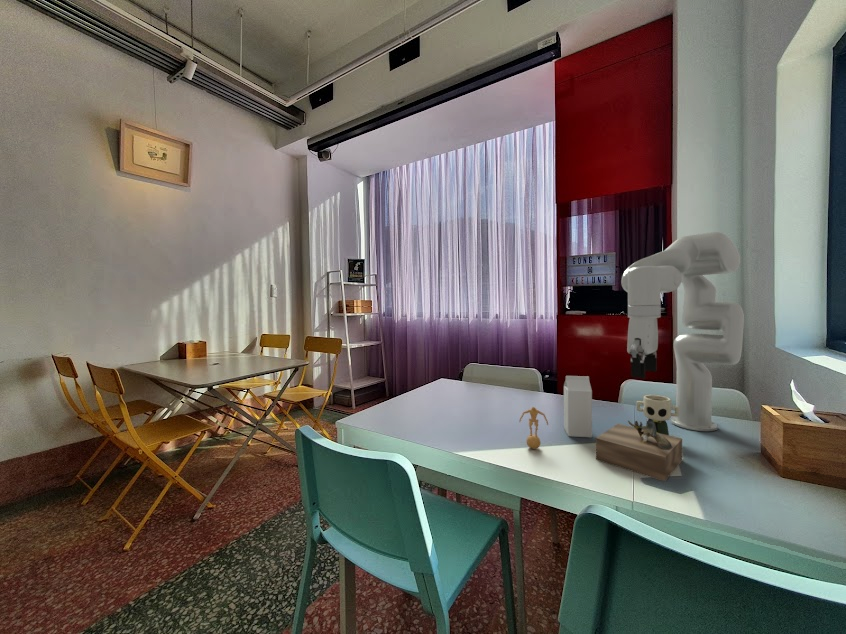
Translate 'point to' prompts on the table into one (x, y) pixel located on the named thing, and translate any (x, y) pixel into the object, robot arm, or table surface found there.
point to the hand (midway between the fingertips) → (644, 374)
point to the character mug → (658, 411)
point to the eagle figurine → (651, 433)
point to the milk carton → (578, 406)
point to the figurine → (533, 439)
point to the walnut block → (638, 452)
